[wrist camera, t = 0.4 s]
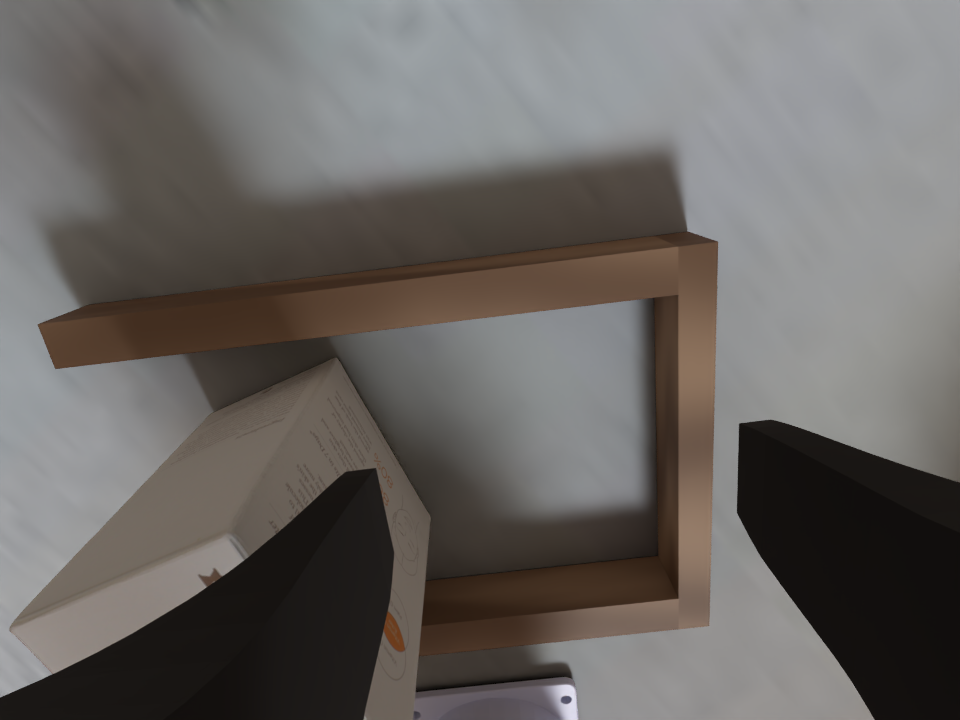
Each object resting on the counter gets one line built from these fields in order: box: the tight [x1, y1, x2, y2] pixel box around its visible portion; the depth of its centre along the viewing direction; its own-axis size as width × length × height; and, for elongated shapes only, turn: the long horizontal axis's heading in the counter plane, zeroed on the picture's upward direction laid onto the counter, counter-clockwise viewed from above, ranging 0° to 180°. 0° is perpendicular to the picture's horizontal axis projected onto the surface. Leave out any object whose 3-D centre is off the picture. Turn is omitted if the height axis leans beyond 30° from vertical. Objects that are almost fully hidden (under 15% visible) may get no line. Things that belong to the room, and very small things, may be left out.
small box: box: [10, 358, 431, 720], centre depth 18 cm, size 8×6×10 cm
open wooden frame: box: [38, 232, 718, 656], centre depth 21 cm, size 15×21×2 cm
